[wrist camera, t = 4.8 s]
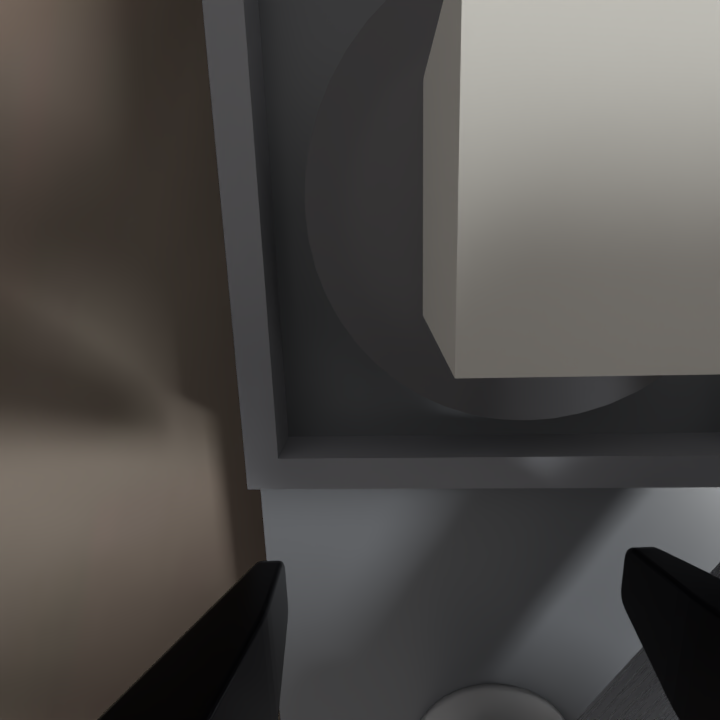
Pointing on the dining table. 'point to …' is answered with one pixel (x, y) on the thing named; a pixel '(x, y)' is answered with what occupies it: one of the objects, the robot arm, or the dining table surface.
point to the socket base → (422, 453)
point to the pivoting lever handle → (634, 692)
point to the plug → (524, 198)
